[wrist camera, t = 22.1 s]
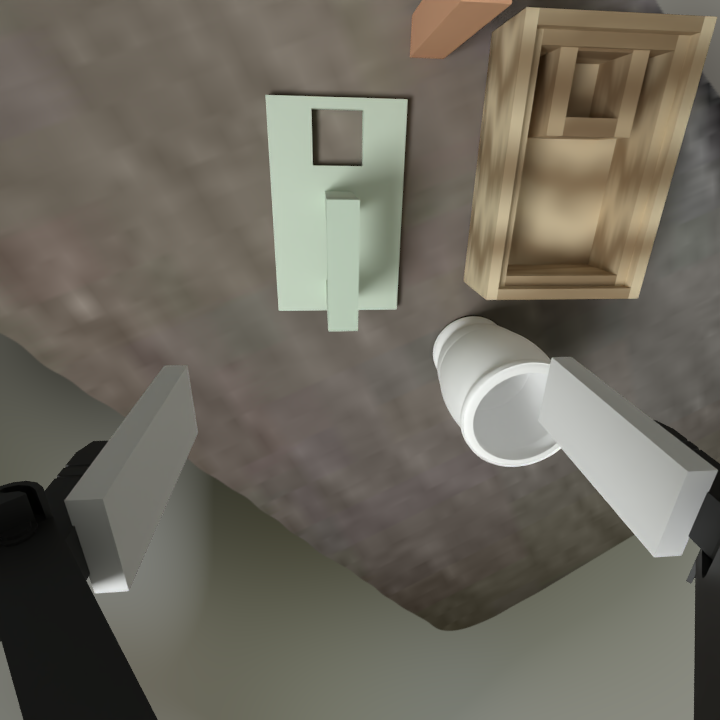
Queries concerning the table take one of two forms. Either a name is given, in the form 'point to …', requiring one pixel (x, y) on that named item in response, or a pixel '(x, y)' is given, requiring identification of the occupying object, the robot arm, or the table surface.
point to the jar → (494, 390)
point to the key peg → (449, 24)
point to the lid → (336, 210)
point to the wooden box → (579, 149)
